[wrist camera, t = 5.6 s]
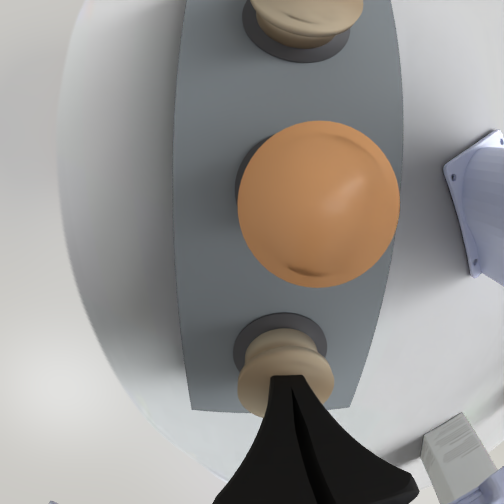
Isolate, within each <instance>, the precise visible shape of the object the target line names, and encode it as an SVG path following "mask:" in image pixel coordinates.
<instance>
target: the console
mask: <svg viewBox="0 0 504 504" xmlns="http://www.w3.org/2000/svg"><path fill="white" fill-rule="evenodd" d="M307 121H331V122H336V123H341V124H344V125H347V126H349V127H352V128H354V129H356V130H358V131H360V132H361V133H363V134H364V135H366V136H367V137H368V138H370V139H371V140H372V141H373V142H374V143H375V144H376V145H377V146H378V147H379V148H380V149H381V151H382V152H383V153H384V154H385V156H386V158H387V159H388V161H389V162H390V164H391V166H392V169H393V171H394V173H395V176H396V179H397V183H398V188H399V195H400V188H401V175H402V157H403V95H402V78H401V66H400V56H399V48H398V40H397V33H396V27H395V21H394V15H393V10H392V5H391V0H363V10H362V13H361V15H360V17H359V18H358V19H357V21H356V22H355V23H354V24H353V25H352V26H351V27H350V28H349V29H348V30H347V31H345V32H343V33H341V34H338V35H335V37H334V38H333V39H332V40H331V41H330V42H328V43H327V44H325V45H323V46H320V47H316V48H310V49H300V48H293V47H289V46H286V45H283V44H281V43H279V42H277V41H275V40H273V39H272V38H270V37H269V36H268V35H267V34H266V33H264V31H263V30H262V29H261V27H260V26H259V24H258V22H257V18H256V10H255V9H254V7H253V6H252V4H251V1H250V0H187V1H186V7H185V14H184V21H183V28H182V35H181V43H180V52H179V61H178V72H177V83H176V96H175V112H174V134H173V232H174V255H175V272H176V286H177V298H178V309H179V320H180V329H181V338H182V347H183V355H184V362H185V370H186V377H187V383H188V390H189V396H190V402H191V408H192V410H200V411H213V412H232V413H251V412H249V411H248V410H247V409H245V408H244V407H243V405H242V404H241V402H240V401H239V398H238V393H237V388H238V377H239V373H240V371H241V369H242V368H243V367H244V365H245V354H246V350H247V348H248V346H249V345H250V343H251V342H252V341H253V340H254V339H255V338H257V337H258V336H260V335H261V334H263V333H265V332H268V331H271V330H274V329H281V328H288V329H295V330H299V331H301V332H303V333H305V334H307V335H308V336H309V337H310V338H311V339H312V340H313V341H314V343H315V345H316V348H317V351H318V353H320V354H321V355H322V356H323V357H324V358H325V359H326V360H327V361H328V363H329V365H330V368H331V370H332V373H333V376H334V388H333V391H332V393H331V395H330V397H329V398H328V399H327V401H326V402H325V403H324V404H323V406H324V407H325V408H326V410H330V409H339V408H348V407H350V404H351V402H352V399H353V397H354V394H355V391H356V388H357V386H358V383H359V380H360V377H361V374H362V371H363V368H364V365H365V362H366V359H367V356H368V353H369V349H370V346H371V343H372V339H373V336H374V332H375V328H376V325H377V321H378V317H379V313H380V309H381V305H382V301H383V297H384V292H385V288H386V283H387V278H388V273H389V268H390V263H391V257H392V251H393V245H394V239H395V233H394V236H393V238H392V240H391V242H390V244H389V246H388V248H387V249H386V251H385V252H384V254H383V255H382V256H381V258H380V259H379V260H378V261H377V262H376V263H375V264H374V265H373V266H372V267H371V268H370V269H368V270H367V271H366V272H365V273H363V274H362V275H360V276H358V277H357V278H355V279H353V280H351V281H348V282H346V283H343V284H340V285H337V286H331V287H324V288H311V287H304V286H299V285H295V284H292V283H289V282H287V281H285V280H283V279H280V278H278V277H277V276H275V275H274V274H272V273H271V272H269V271H268V270H267V269H266V268H265V267H264V266H263V265H261V263H260V262H259V261H258V260H257V259H256V258H255V256H254V255H253V253H252V252H251V250H250V249H249V247H248V245H247V243H246V241H245V239H244V237H243V234H242V231H241V228H240V223H239V218H238V204H237V203H238V192H239V188H240V183H241V179H242V177H243V174H244V171H245V169H246V167H247V165H248V163H249V162H250V160H251V158H252V157H253V155H254V154H255V153H256V151H257V150H258V149H259V148H260V147H261V146H262V145H263V144H264V143H265V142H266V141H267V140H268V139H269V138H271V137H272V136H273V135H275V134H276V133H278V132H280V131H282V130H283V129H285V128H287V127H290V126H293V125H295V124H299V123H303V122H307ZM395 232H396V230H395Z"/></svg>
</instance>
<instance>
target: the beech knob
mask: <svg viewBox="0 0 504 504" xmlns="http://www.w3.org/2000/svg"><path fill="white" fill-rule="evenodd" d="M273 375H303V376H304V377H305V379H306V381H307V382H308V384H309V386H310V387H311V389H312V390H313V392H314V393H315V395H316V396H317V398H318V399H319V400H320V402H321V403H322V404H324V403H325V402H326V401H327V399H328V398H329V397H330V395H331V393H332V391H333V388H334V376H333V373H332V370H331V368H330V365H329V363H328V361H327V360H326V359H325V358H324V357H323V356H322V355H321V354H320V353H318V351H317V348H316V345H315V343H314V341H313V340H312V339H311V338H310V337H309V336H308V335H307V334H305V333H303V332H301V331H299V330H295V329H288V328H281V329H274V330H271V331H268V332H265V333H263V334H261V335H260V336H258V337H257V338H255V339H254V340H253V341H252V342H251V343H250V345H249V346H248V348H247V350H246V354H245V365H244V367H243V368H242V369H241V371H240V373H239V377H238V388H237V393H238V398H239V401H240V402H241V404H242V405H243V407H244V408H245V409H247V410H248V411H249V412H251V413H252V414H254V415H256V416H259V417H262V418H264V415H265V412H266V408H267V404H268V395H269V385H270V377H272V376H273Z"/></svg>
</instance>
